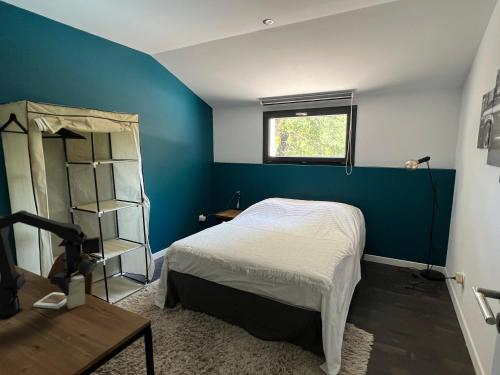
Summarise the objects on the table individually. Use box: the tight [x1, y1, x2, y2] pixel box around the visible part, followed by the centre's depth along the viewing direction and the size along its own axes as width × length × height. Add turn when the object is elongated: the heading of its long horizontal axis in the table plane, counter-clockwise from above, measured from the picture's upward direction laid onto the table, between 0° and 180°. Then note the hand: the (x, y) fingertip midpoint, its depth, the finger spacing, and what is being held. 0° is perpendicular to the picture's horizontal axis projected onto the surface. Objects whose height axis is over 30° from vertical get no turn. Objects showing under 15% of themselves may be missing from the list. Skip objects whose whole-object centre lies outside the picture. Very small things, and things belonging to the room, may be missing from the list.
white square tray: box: [33, 291, 66, 310], centre depth 117 cm, size 10×11×1 cm
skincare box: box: [65, 274, 86, 310], centre depth 115 cm, size 6×4×12 cm
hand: (75, 290), depth 114 cm, fingers open, 9 cm apart
